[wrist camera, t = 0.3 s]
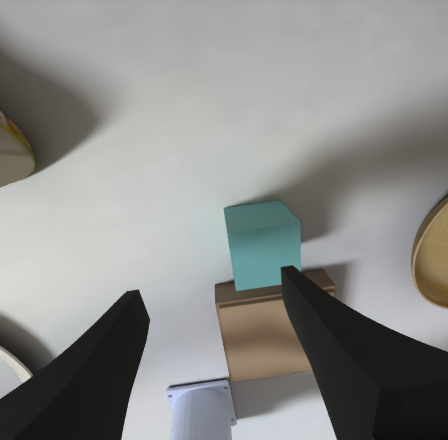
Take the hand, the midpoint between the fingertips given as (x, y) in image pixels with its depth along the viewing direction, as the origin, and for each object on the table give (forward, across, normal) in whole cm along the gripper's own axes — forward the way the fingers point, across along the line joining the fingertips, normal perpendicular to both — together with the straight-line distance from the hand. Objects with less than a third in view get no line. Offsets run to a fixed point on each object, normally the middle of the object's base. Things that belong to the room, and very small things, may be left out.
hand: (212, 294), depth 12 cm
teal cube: (+10, -4, +2) cm, 11 cm away
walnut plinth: (+10, -4, +13) cm, 16 cm away
